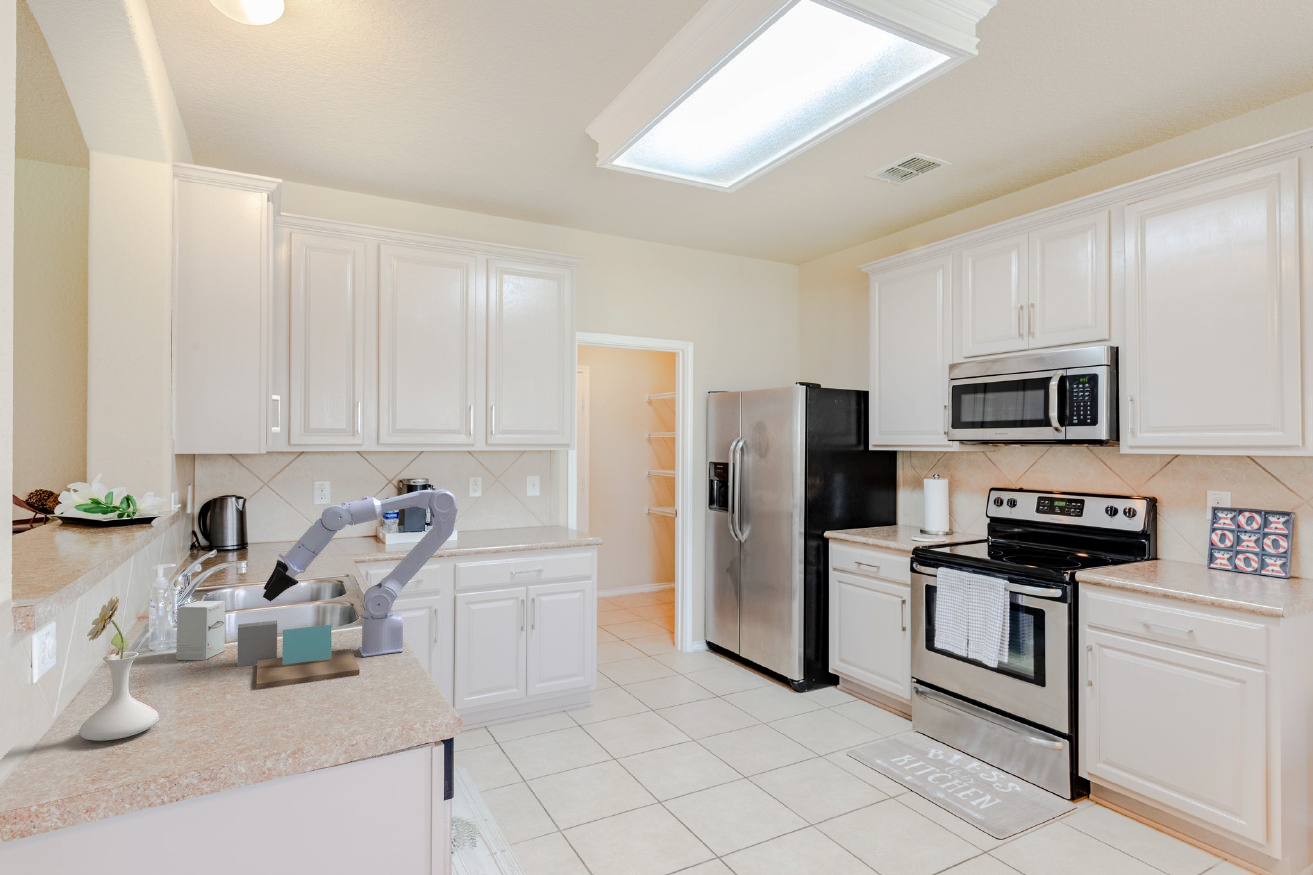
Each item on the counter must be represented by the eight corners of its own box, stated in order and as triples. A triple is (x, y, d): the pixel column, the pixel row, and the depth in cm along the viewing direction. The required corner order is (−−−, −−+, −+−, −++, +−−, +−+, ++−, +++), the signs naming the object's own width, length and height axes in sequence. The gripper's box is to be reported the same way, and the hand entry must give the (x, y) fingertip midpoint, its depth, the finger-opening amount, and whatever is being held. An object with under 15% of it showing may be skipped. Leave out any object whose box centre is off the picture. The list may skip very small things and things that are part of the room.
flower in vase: (90, 726, 128) (92, 588, 128) (165, 717, 132) (167, 584, 133) (64, 756, 116) (66, 604, 116) (148, 744, 121) (149, 598, 121)
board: (350, 653, 173) (350, 648, 173) (359, 674, 157) (359, 669, 157) (257, 665, 163) (257, 660, 163) (256, 689, 147) (256, 683, 148)
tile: (330, 624, 165) (331, 624, 165) (331, 658, 164) (331, 658, 163) (282, 629, 160) (282, 629, 160) (282, 664, 159) (282, 664, 158)
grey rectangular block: (276, 657, 169) (277, 620, 169) (276, 661, 166) (277, 623, 166) (237, 662, 165) (238, 624, 166) (237, 666, 162) (237, 627, 162)
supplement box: (205, 660, 167) (206, 607, 167) (175, 660, 167) (175, 606, 167) (225, 651, 174) (226, 600, 174) (196, 651, 174) (196, 600, 174)
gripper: (293, 532, 174) (252, 578, 170) (294, 543, 161) (250, 592, 157) (317, 549, 176) (278, 594, 173) (320, 561, 164) (278, 610, 160)
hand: (266, 594), depth 165 cm, fingers open, 7 cm apart
